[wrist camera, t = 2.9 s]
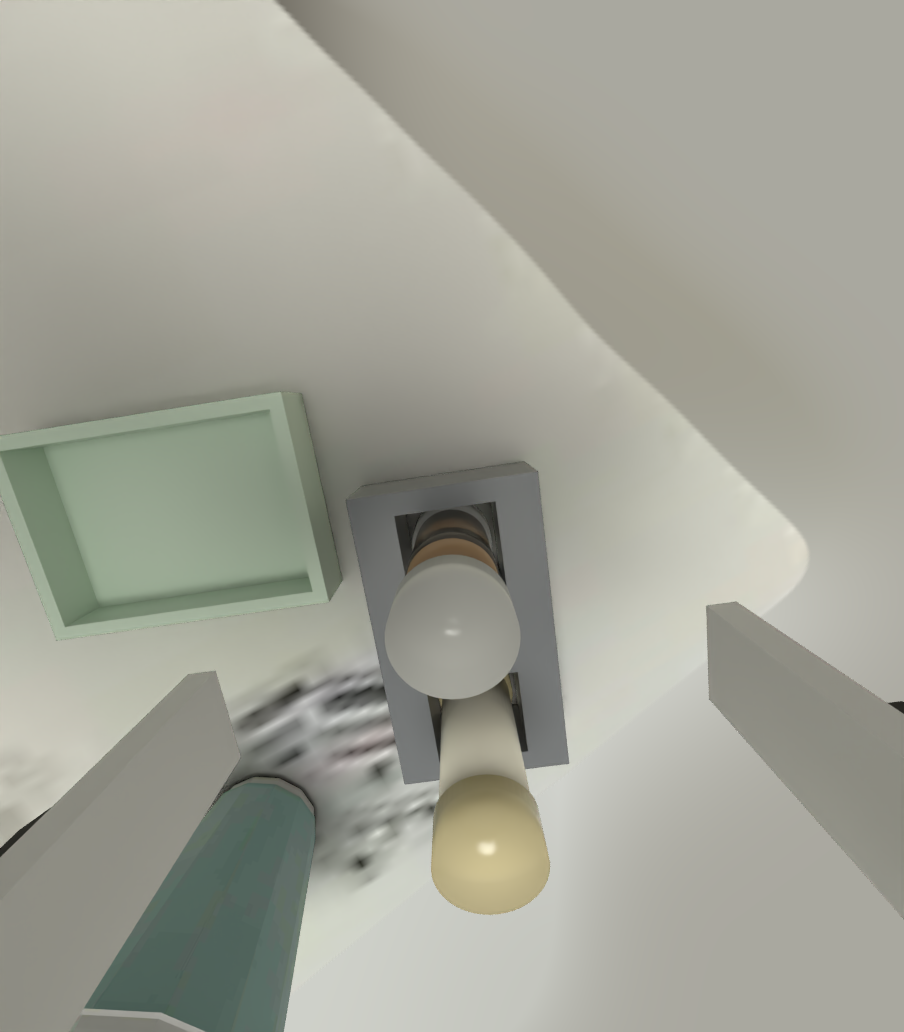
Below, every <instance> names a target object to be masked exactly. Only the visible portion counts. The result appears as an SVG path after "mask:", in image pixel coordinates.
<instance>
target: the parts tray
mask: <svg viewBox="0 0 904 1032" xmlns="http://www.w3.org/2000/svg"><path fill="white" fill-rule="evenodd" d="M0 495H1V498H2V500H3V503H4V505H5V508H6V511H7V513H8V516H9V518H10V521H11V524H12V526H13V529H14V531H15V534H16V537H17V539H18V542H19V544H20V547H21V550H22V552H23V555H24V557H25V560H26V563H27V565H28V568H29V570H30V573H31V576H32V578H33V581H34V583H35V586H36V589H37V591H38V594H39V596H40V599H41V602H42V604H43V607H44V609H45V612H46V615H47V617H48V620H49V622H50V625H51V628H52V630H53V633H54V635H55V638H56V641H59V640H66V639H73V638H80V637H87V636H94V635H101V634H108V633H115V632H122V631H129V630H136V629H144V628H151V627H158V626H165V625H172V624H179V623H186V622H193V621H200V620H207V619H214V618H221V617H228V616H235V615H242V614H250V613H257V612H264V611H271V610H278V609H285V608H292V607H299V606H306V605H313V604H320V603H327V602H329V601H330V600H331V598H332V596H333V595H334V593H335V592H336V590H337V589H338V587H339V585H340V584H341V582H342V577H341V572H340V568H339V563H338V558H337V554H336V549H335V545H334V540H333V536H332V531H331V526H330V522H329V517H328V513H327V508H326V504H325V499H324V494H323V490H322V485H321V481H320V476H319V471H318V467H317V462H316V458H315V453H314V449H313V444H312V439H311V435H310V430H309V426H308V421H307V417H306V412H305V407H304V403H303V398H302V394H300V393H291V392H281V391H280V392H274V393H268V394H261V395H255V396H249V397H242V398H236V399H230V400H223V401H217V402H211V403H204V404H198V405H191V406H185V407H179V408H172V409H166V410H160V411H153V412H147V413H141V414H134V415H128V416H122V417H115V418H109V419H102V420H96V421H90V422H83V423H77V424H71V425H64V426H58V427H52V428H45V429H39V430H33V431H26V432H20V433H14V434H7V435H1V436H0Z"/></svg>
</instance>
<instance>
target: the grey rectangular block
mask: <svg viewBox="0 0 904 1032" xmlns="http://www.w3.org/2000/svg"><path fill="white" fill-rule="evenodd" d="M487 502H491V508H492V516H493V523H494V531H495V539H496V546H497V554H498V561H499V569H498V571H499V576H500V577H501V578H502V580H503V581H504V583H505V585H506V586H507V588H508V591H509V594H510V597H511V600H512V603H513V606H514V609H515V613H516V616H517V619H518V622H519V627H520V637H521V640H520V648H519V652H518V656H517V658H516V661H515V663H514V665H513V667H512V668H511V670H510V671H509V673H513V674H514V681H515V689H516V696H517V704H514V705H512V708H513V713H514V718H515V723H516V728H517V733H518V738H519V742H520V747H521V752H522V757H523V762H524V767H525V769H530V768H538V767H546V766H554V765H562V764H569V758H568V748H567V739H566V730H565V720H564V711H563V702H562V692H561V683H560V674H559V664H558V655H557V646H556V636H555V627H554V618H553V608H552V599H551V590H550V580H549V571H548V561H547V552H546V543H545V533H544V524H543V515H542V505H541V496H540V487H539V477H538V471H537V470H535V469H534V468H532V467H531V466H530V465H528V464H527V463H525V462H518V463H512V464H505V465H498V466H491V467H485V468H478V469H471V470H465V471H458V472H451V473H445V474H438V475H431V476H425V477H418V478H411V479H405V480H398V481H391V482H385V483H378V484H371V485H364V486H361V487H360V488H359V489H358V490H357V491H355V492H354V493H353V494H352V495H351V496H350V497H348V498H347V499H346V504H347V509H348V514H349V519H350V524H351V529H352V533H353V538H354V543H355V548H356V553H357V557H358V562H359V567H360V572H361V577H362V581H363V586H364V591H365V596H366V601H367V606H368V610H369V615H370V620H371V625H372V630H373V634H374V639H375V644H376V649H377V654H378V659H379V663H380V668H381V673H382V678H383V683H384V687H385V692H386V697H387V702H388V707H389V711H390V716H391V721H392V726H393V731H394V736H395V740H396V745H397V750H398V755H399V760H400V764H401V769H402V774H403V779H404V784H413V783H421V782H428V781H436V780H440V751H441V719H442V714H441V710H440V705H439V699H438V698H436V697H432V696H429V695H426V694H424V693H421V692H419V691H418V690H416V689H414V688H412V687H411V686H410V685H408V684H407V683H406V682H405V681H404V680H403V679H402V678H401V677H400V676H399V675H398V674H397V672H396V671H395V670H394V668H393V666H392V665H391V663H390V660H389V658H388V655H387V652H386V647H385V628H386V623H387V620H388V617H389V613H390V610H391V607H392V603H393V600H394V597H395V594H396V591H397V588H398V586H399V584H400V583H401V581H402V580H403V578H404V577H405V574H406V570H407V566H408V562H409V559H410V556H411V553H412V548H411V542H410V536H409V531H408V525H407V519H406V514H413V513H419V512H426V511H433V510H440V509H447V508H453V507H460V506H467V505H474V504H481V503H487Z"/></svg>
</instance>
